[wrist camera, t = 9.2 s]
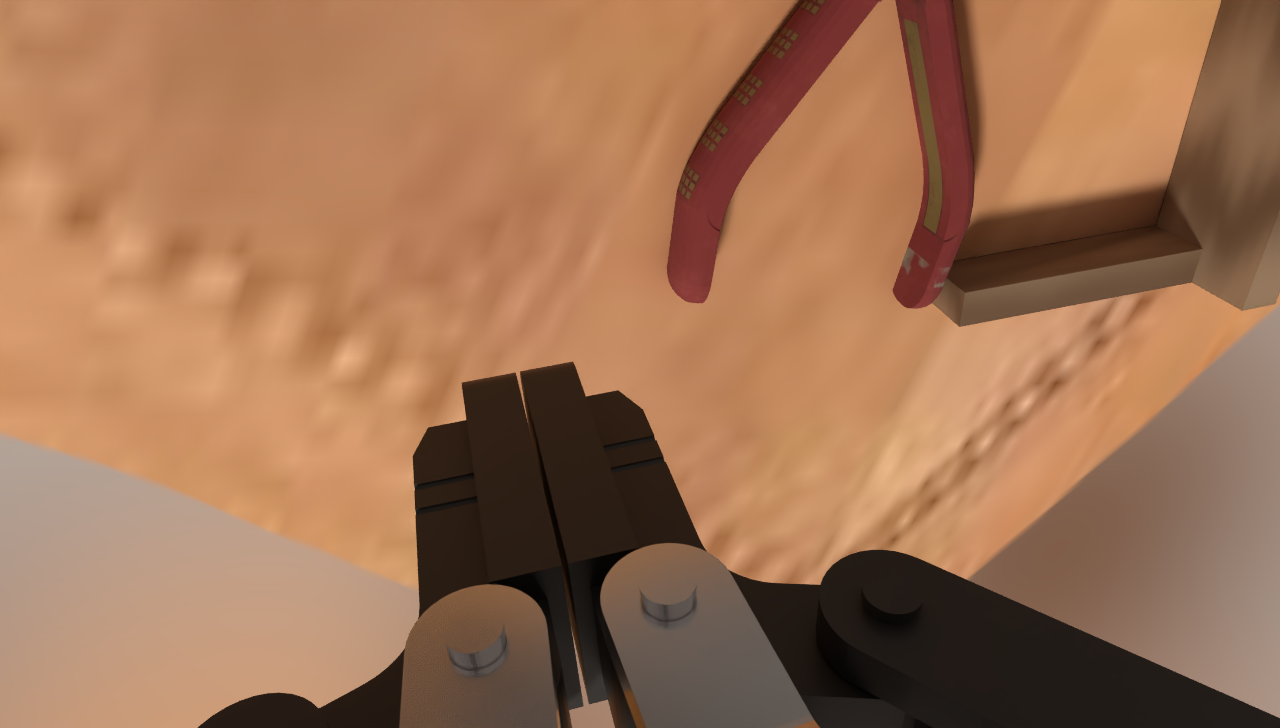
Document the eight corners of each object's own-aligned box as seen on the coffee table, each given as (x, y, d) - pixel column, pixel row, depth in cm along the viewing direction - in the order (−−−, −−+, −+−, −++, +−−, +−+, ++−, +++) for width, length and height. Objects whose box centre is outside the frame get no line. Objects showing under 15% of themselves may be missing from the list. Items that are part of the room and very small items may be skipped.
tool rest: (1017, -367, 23) (1149, -411, 19) (1374, -383, 25) (1565, -426, 21) (926, 297, 35) (996, 359, 31) (1177, 251, 37) (1275, 304, 32)
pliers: (1122, -313, 25) (1189, -327, 23) (914, 291, 35) (947, 321, 33) (769, -410, 22) (807, -437, 20) (652, 282, 32) (669, 314, 30)
